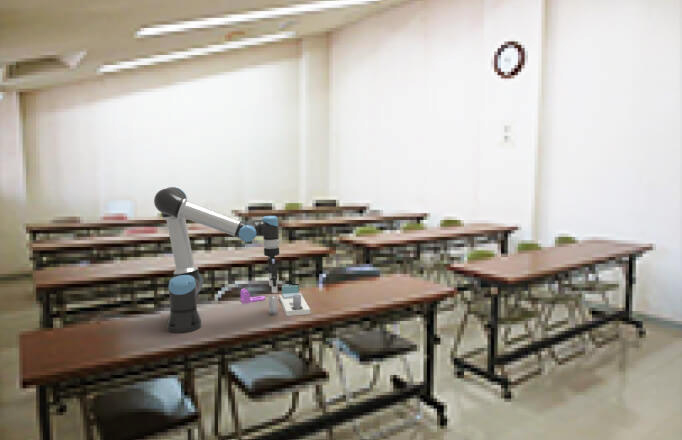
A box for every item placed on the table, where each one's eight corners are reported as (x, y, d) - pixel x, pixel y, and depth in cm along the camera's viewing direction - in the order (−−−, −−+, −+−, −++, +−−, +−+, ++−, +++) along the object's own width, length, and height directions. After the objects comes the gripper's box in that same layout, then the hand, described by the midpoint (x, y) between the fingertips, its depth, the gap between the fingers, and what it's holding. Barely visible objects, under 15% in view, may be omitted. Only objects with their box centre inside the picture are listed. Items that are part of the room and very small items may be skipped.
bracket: (243, 303, 254) (243, 291, 254) (240, 301, 259) (240, 288, 259) (266, 300, 260) (266, 288, 259) (263, 298, 265) (263, 286, 264)
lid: (283, 298, 254) (283, 289, 253) (282, 294, 261) (281, 286, 260) (300, 297, 256) (300, 288, 256) (298, 293, 263) (298, 285, 262)
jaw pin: (269, 315, 234) (269, 298, 233) (268, 313, 238) (268, 295, 237) (277, 315, 235) (277, 297, 234) (276, 312, 239) (276, 295, 238)
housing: (286, 316, 233) (286, 298, 232) (279, 299, 262) (278, 283, 261) (310, 314, 236) (309, 296, 235) (300, 297, 265) (300, 281, 264)
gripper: (282, 251, 221) (283, 295, 224) (276, 242, 245) (277, 282, 248) (266, 252, 220) (268, 296, 222) (261, 243, 244) (263, 283, 246)
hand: (273, 289), depth 235 cm, fingers open, 13 cm apart
